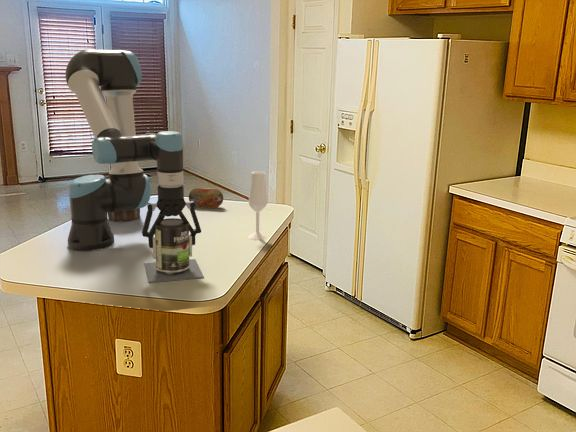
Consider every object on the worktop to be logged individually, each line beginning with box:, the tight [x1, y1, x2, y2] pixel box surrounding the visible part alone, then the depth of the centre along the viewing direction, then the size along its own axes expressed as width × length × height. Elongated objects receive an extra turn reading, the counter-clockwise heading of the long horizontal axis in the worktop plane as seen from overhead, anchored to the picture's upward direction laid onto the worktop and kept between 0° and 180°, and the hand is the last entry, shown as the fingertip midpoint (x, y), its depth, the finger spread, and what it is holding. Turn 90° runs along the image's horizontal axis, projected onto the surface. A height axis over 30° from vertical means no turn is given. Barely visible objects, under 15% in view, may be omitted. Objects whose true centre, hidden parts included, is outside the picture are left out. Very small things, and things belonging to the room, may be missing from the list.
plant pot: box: [104, 175, 141, 223], centre depth 227 cm, size 16×16×16 cm
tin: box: [188, 187, 224, 209], centre depth 248 cm, size 15×3×8 cm, turn 81°
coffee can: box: [153, 217, 190, 273], centre depth 173 cm, size 10×10×14 cm
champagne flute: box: [248, 170, 268, 241], centre depth 206 cm, size 7×7×24 cm
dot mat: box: [144, 258, 205, 284], centre depth 175 cm, size 16×16×1 cm
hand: (172, 256), depth 174 cm, fingers closed on coffee can, 10 cm apart
